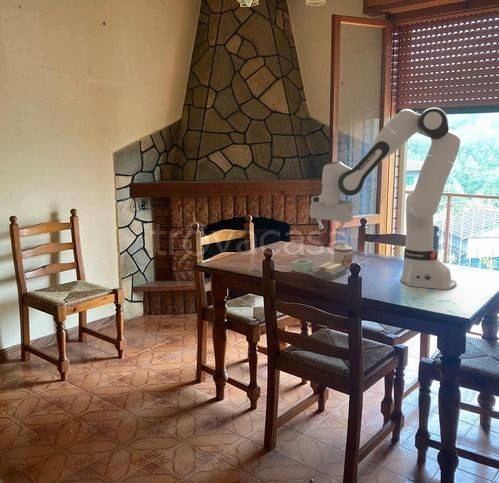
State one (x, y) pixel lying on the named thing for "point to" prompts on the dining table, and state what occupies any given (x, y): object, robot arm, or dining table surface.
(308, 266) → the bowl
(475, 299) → the dining table surface
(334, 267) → the lid board
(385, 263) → the dining table surface
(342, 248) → the teacup with lid
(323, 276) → the trivet
